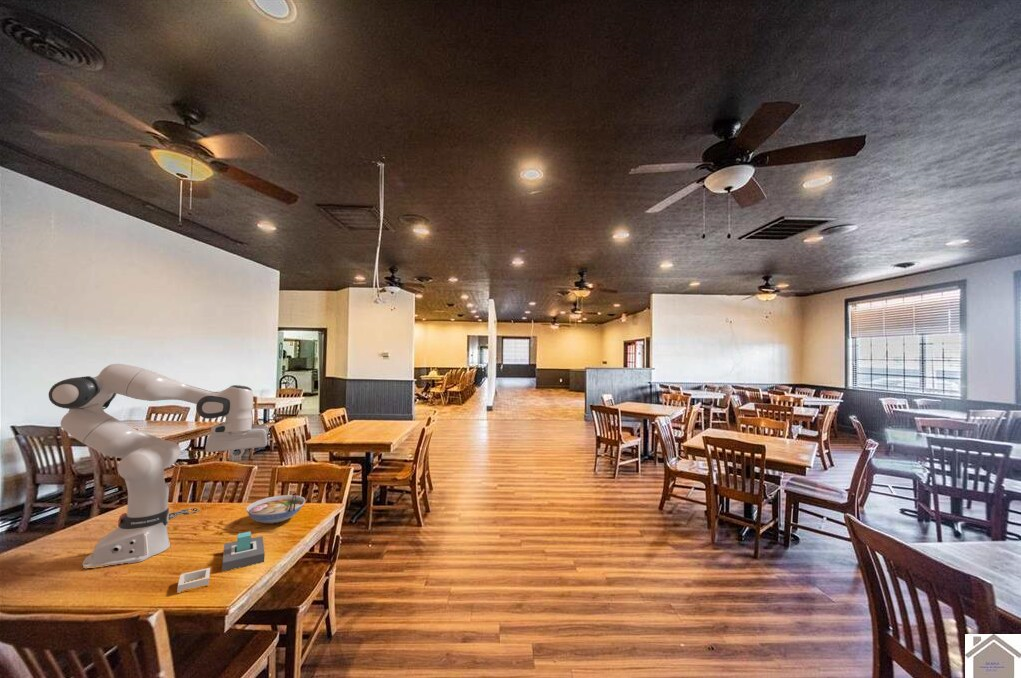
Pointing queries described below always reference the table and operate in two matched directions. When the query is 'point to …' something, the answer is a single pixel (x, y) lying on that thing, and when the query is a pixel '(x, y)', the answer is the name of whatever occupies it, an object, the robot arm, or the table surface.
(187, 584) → the white square frame
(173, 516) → the knife
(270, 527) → the table surface
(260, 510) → the ramen bowl
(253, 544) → the socket block
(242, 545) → the plug
